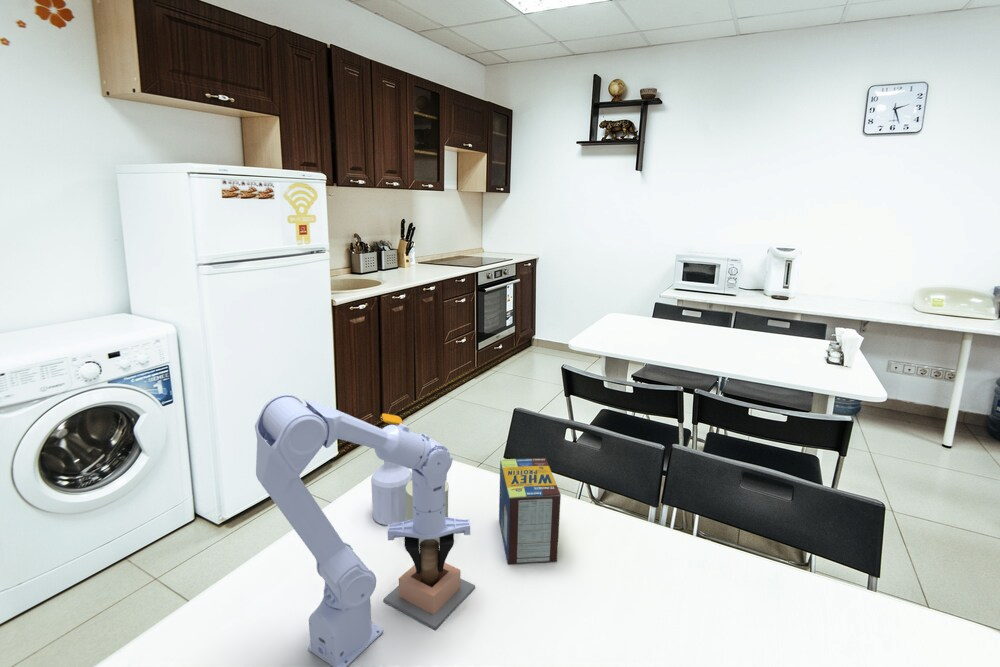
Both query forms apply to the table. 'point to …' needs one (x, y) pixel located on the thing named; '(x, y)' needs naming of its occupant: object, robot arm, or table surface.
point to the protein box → (529, 511)
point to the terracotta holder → (429, 596)
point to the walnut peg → (429, 562)
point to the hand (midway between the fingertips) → (429, 568)
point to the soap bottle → (390, 487)
